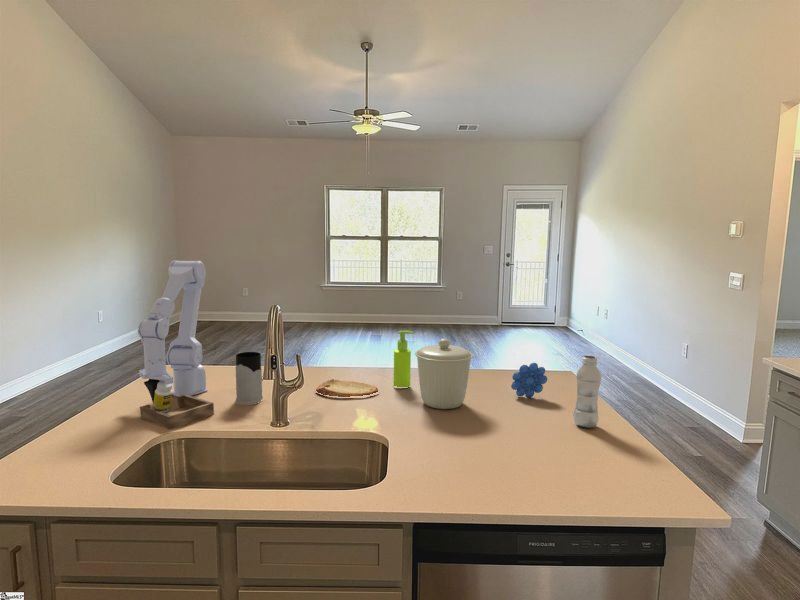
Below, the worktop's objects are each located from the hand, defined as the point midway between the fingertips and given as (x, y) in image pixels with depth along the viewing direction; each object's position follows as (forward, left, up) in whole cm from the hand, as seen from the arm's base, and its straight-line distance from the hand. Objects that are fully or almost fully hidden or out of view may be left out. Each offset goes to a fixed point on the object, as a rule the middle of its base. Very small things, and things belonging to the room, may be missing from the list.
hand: (157, 403), depth 148 cm
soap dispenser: (-62, +48, -2) cm, 79 cm away
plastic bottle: (-61, +110, -2) cm, 126 cm away
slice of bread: (-46, +36, -3) cm, 58 cm away
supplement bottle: (0, +2, -2) cm, 3 cm away
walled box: (0, +10, -2) cm, 10 cm away
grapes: (-77, +88, -2) cm, 117 cm away
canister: (-54, +68, -2) cm, 87 cm away
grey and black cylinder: (-24, +15, -2) cm, 29 cm away
